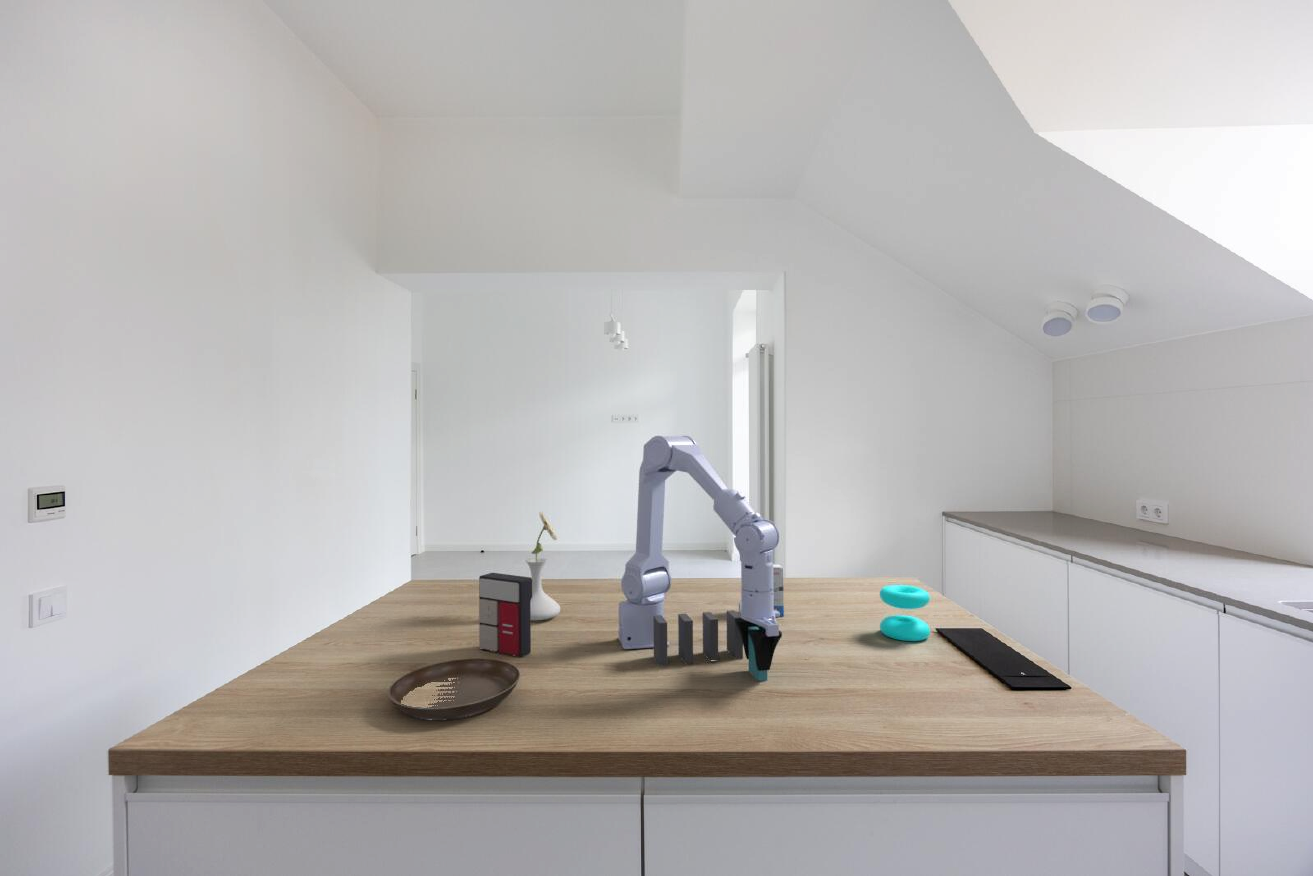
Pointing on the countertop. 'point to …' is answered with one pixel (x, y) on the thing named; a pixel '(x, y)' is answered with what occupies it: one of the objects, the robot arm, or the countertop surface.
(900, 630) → the donuts
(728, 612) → the black domino
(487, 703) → the plant saucer
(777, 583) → the ink box
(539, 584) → the flower in vase
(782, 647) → the countertop surface
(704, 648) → the domino block
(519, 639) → the toy cabinet
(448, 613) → the countertop surface
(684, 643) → the black domino
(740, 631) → the robot arm
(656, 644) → the black domino
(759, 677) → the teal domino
